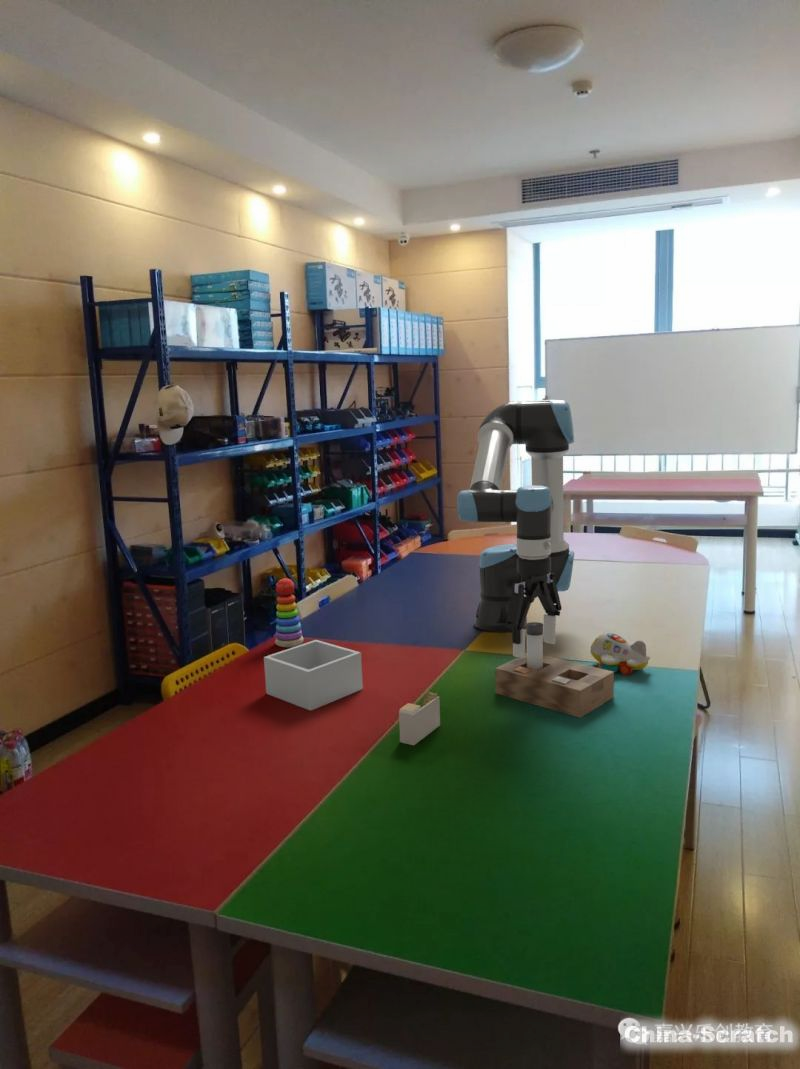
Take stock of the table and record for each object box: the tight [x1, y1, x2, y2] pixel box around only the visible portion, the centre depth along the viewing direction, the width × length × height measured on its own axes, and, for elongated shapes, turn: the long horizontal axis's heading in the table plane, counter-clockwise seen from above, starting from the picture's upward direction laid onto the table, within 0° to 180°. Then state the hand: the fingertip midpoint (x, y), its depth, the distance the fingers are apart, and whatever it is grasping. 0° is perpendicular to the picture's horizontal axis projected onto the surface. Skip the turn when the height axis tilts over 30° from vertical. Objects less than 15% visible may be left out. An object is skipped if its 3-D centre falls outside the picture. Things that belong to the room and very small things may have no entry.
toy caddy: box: [263, 639, 364, 711], centre depth 184 cm, size 16×16×9 cm
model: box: [398, 689, 441, 746], centre depth 160 cm, size 3×11×8 cm, turn 148°
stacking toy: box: [274, 577, 305, 648], centre depth 219 cm, size 8×8×19 cm
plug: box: [525, 621, 544, 671], centre depth 179 cm, size 4×4×14 cm
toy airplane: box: [589, 632, 651, 676], centre depth 192 cm, size 13×9×15 cm
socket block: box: [494, 653, 615, 719], centre depth 177 cm, size 22×14×6 cm, turn 47°
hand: (534, 649), depth 179 cm, fingers open, 11 cm apart
